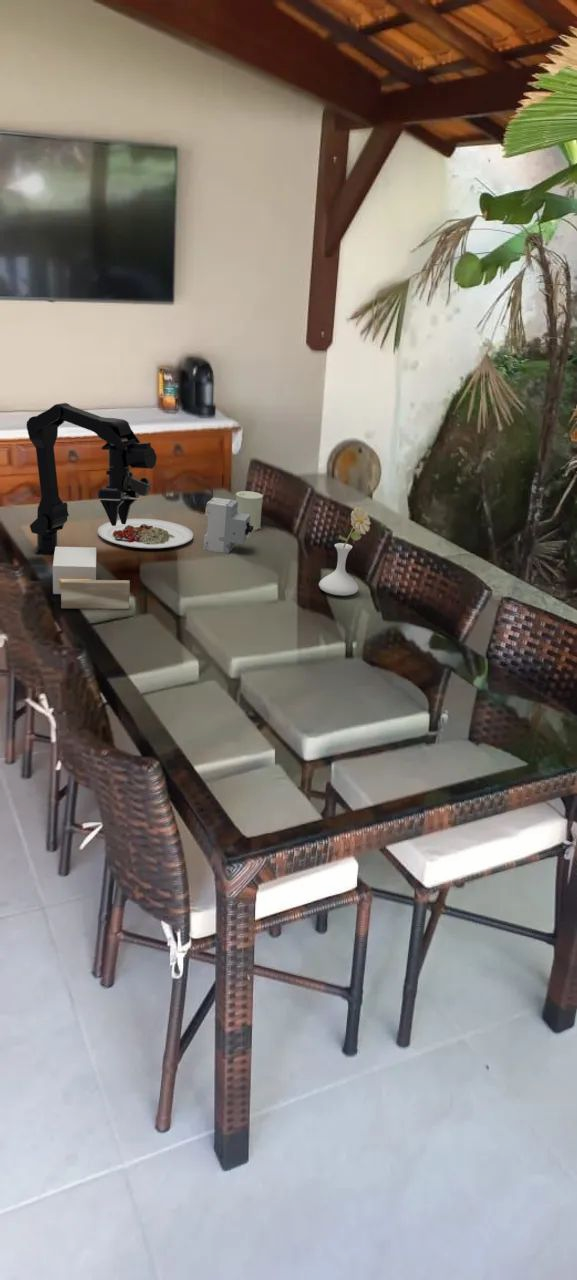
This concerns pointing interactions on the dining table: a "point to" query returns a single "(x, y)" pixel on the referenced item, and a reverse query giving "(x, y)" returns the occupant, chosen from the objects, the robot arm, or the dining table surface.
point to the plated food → (146, 533)
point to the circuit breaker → (225, 525)
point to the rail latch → (69, 579)
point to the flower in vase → (339, 578)
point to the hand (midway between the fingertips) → (118, 524)
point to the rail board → (95, 594)
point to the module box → (73, 564)
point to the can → (250, 506)
